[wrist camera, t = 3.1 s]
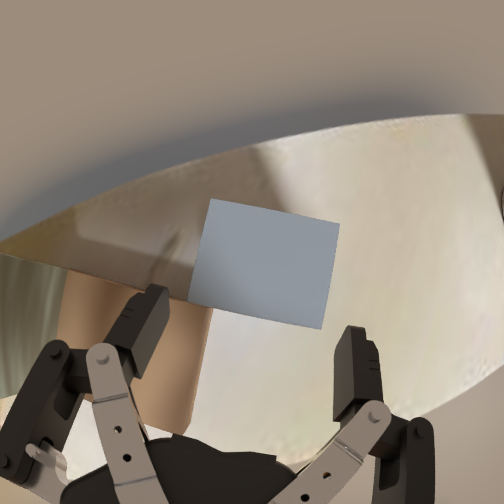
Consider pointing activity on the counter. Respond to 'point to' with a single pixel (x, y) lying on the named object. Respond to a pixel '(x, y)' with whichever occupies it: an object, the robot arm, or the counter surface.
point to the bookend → (97, 334)
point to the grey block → (264, 263)
